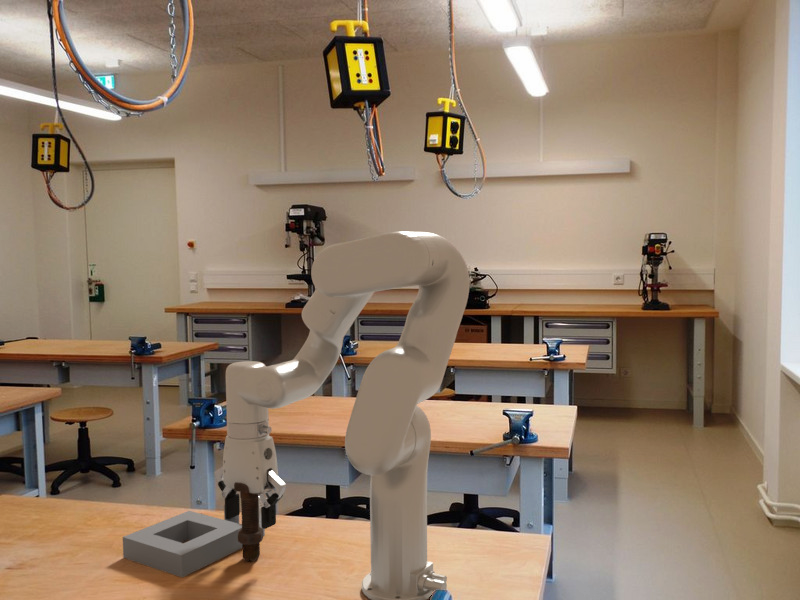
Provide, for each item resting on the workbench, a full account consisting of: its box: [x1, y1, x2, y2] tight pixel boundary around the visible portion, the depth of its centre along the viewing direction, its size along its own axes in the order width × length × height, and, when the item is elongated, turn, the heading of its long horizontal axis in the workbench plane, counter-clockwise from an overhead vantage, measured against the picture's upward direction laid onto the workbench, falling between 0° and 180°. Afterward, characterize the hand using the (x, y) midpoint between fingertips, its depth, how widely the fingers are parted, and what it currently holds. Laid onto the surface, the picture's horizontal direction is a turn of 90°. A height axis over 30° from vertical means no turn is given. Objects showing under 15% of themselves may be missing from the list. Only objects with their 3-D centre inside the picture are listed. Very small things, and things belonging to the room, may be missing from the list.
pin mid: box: [258, 497, 266, 537], centre depth 146 cm, size 3×3×8 cm
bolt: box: [234, 482, 264, 562], centre depth 134 cm, size 6×5×15 cm
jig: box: [122, 510, 242, 578], centre depth 138 cm, size 16×16×4 cm
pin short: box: [223, 504, 240, 524], centre depth 150 cm, size 3×3×5 cm
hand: (250, 521), depth 134 cm, fingers open, 8 cm apart
